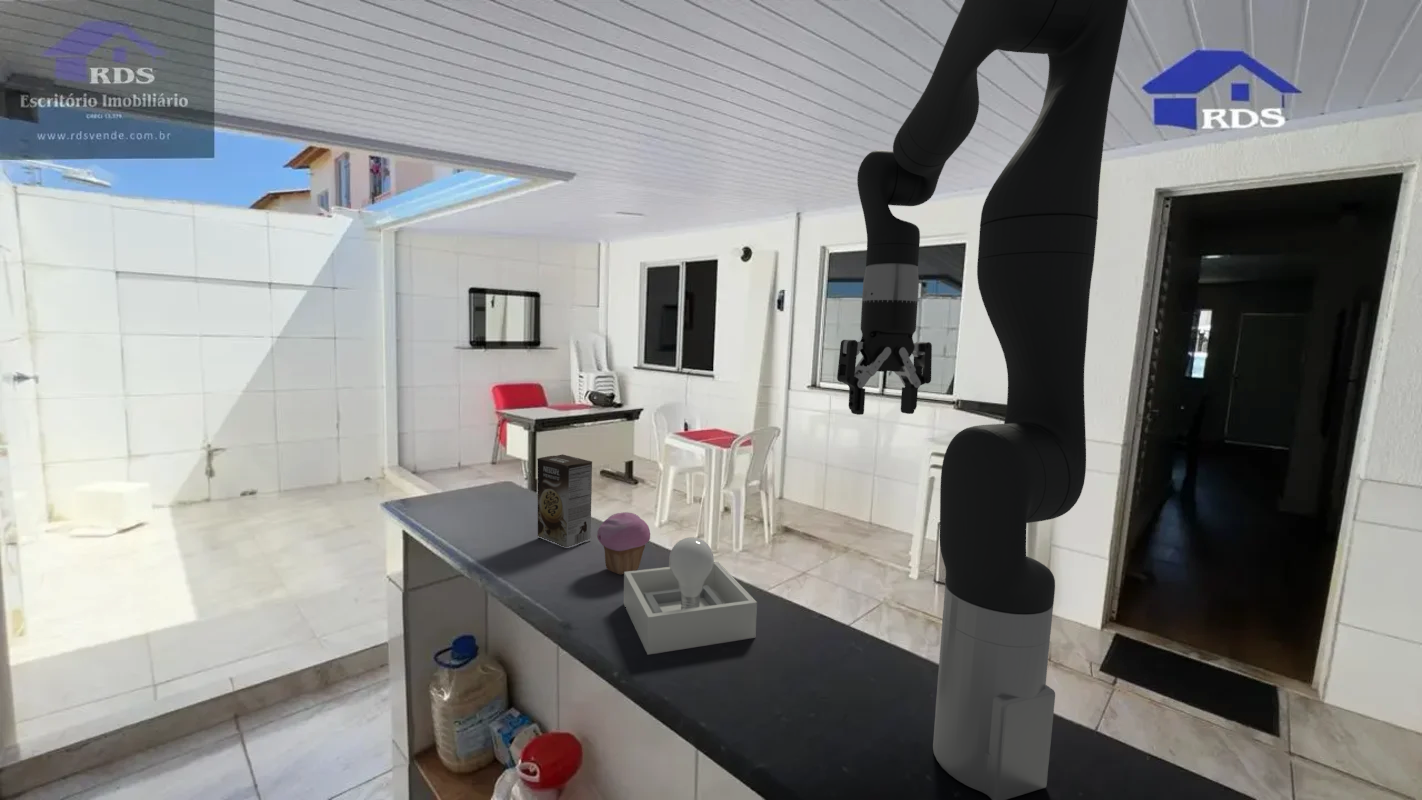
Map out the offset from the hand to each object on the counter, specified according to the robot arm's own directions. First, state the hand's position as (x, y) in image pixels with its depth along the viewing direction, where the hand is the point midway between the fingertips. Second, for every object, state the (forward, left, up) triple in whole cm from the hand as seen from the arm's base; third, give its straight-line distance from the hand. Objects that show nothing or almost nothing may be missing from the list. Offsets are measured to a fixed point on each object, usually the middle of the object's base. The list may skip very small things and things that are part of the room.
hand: (882, 413), depth 86 cm
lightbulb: (+6, +26, -29) cm, 40 cm away
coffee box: (+44, +40, -30) cm, 67 cm away
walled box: (+6, +27, -30) cm, 41 cm away
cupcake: (+26, +32, -30) cm, 51 cm away
